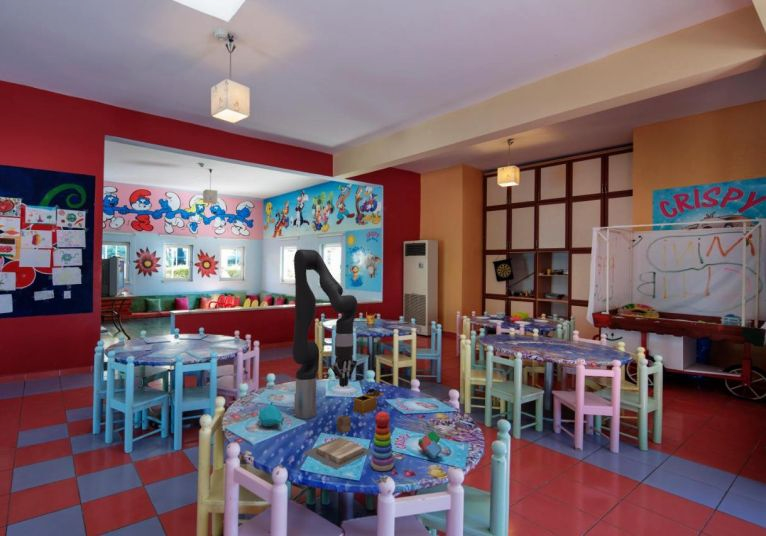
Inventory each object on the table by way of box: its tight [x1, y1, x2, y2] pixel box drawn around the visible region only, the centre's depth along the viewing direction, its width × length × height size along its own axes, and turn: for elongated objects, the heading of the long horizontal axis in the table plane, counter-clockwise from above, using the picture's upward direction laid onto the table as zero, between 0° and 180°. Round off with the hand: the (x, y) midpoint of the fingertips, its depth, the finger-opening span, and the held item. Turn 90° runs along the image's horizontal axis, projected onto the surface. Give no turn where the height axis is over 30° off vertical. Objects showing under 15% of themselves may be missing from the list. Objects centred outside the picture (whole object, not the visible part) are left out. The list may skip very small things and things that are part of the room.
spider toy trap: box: [353, 388, 385, 415], centre depth 196 cm, size 6×15×9 cm, turn 139°
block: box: [336, 414, 352, 434], centre depth 169 cm, size 4×4×6 cm
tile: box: [317, 437, 365, 464], centre depth 148 cm, size 2×12×12 cm
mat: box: [302, 436, 372, 470], centre depth 149 cm, size 18×18×1 cm
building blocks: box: [417, 429, 442, 460], centre depth 150 cm, size 8×8×12 cm
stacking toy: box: [370, 411, 395, 472], centre depth 140 cm, size 8×8×19 cm
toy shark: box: [257, 401, 285, 427], centre depth 173 cm, size 10×18×11 cm, turn 49°
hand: (343, 385), depth 168 cm, fingers closed
